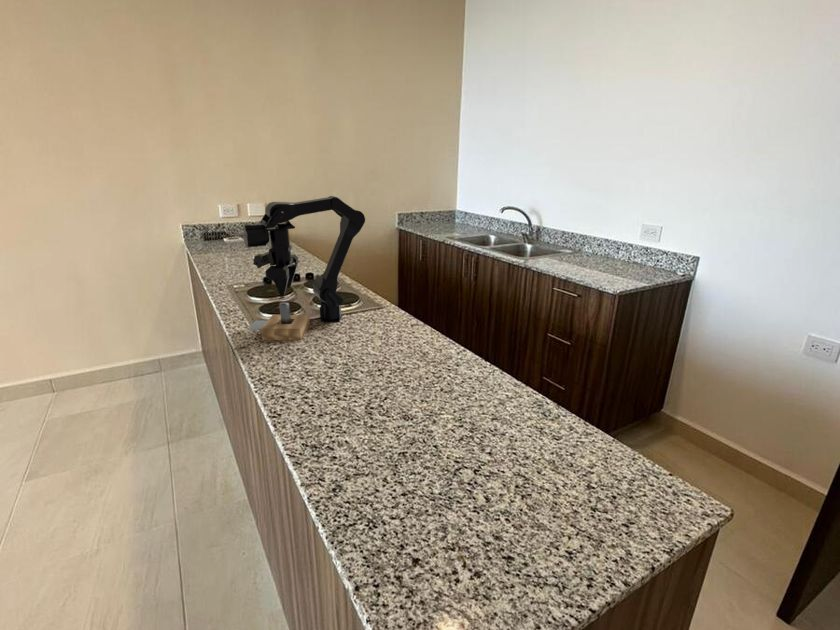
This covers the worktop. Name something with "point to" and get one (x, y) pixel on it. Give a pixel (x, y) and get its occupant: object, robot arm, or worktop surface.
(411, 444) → the worktop surface
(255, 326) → the mat
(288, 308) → the pin
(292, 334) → the socket block
